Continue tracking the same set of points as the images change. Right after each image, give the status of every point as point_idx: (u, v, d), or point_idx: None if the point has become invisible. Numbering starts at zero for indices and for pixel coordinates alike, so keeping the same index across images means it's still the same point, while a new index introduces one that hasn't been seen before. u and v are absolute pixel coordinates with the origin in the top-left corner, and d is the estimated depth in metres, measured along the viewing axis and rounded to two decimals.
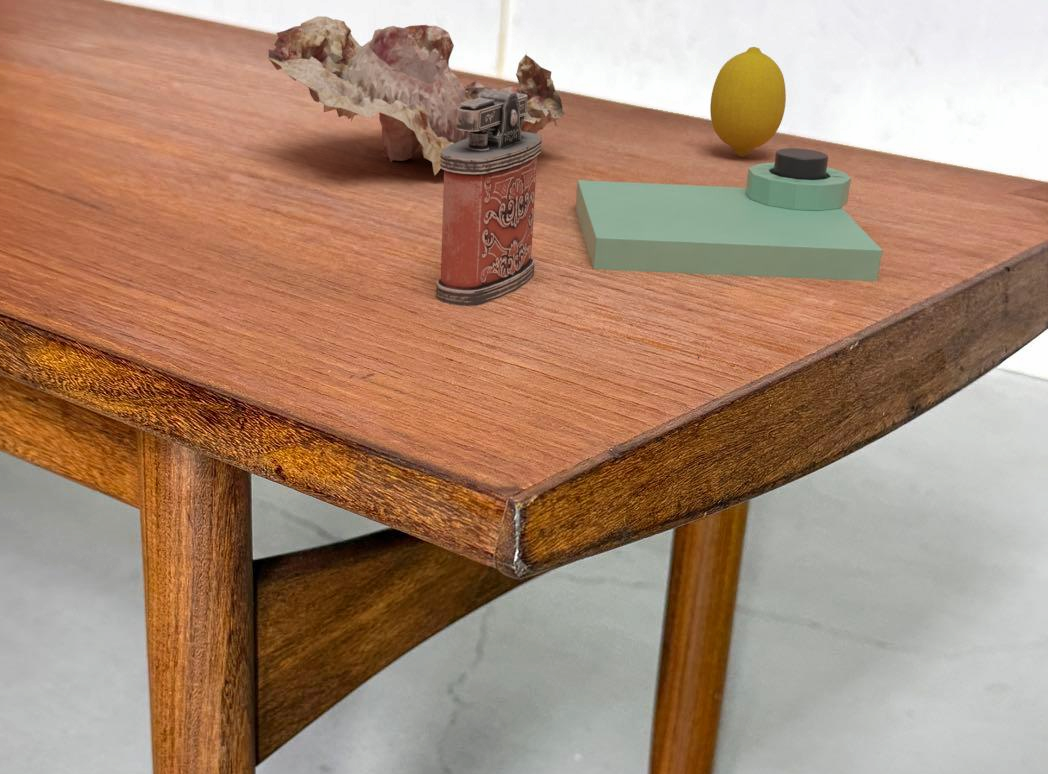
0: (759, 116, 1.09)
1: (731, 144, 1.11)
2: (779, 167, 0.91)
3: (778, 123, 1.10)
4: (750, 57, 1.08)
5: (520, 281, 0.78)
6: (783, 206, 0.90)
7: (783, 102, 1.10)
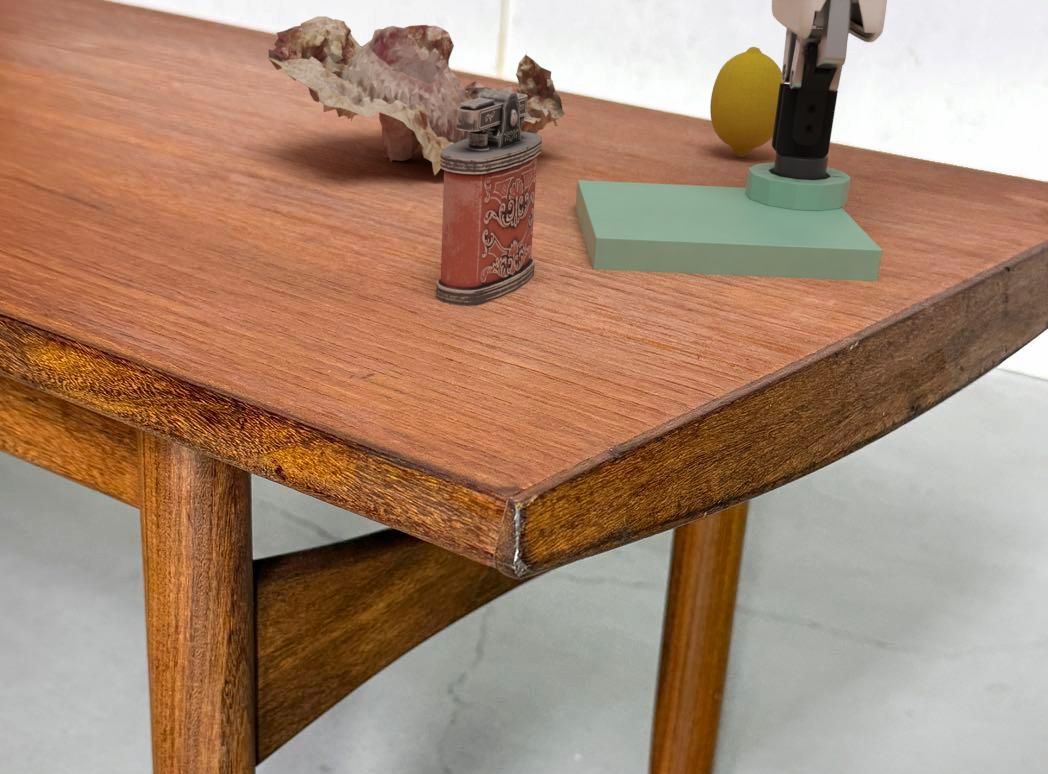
0: (759, 116, 1.09)
1: (731, 144, 1.11)
2: (779, 167, 0.91)
3: None
4: (750, 57, 1.08)
5: (520, 281, 0.78)
6: (783, 206, 0.90)
7: None
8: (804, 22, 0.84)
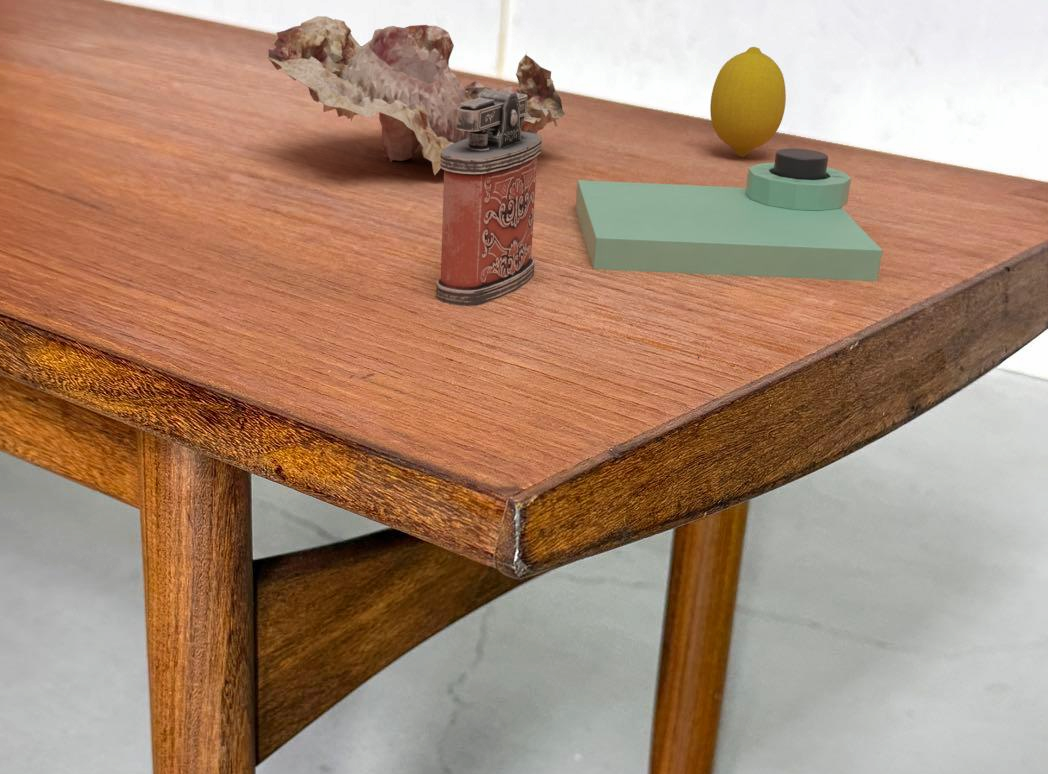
0: (759, 116, 1.09)
1: (731, 144, 1.11)
2: (779, 167, 0.91)
3: (778, 123, 1.10)
4: (750, 57, 1.08)
5: (520, 281, 0.78)
6: (783, 206, 0.90)
7: (783, 102, 1.10)
8: None
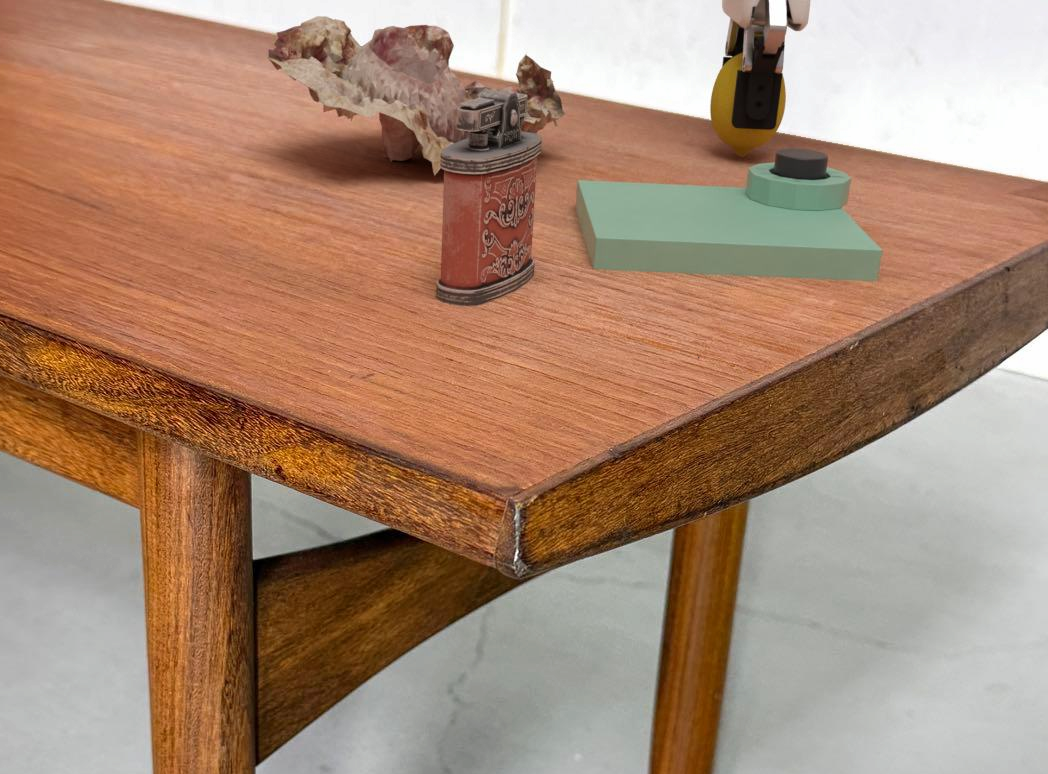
0: None
1: (731, 144, 1.11)
2: (779, 167, 0.91)
3: (778, 123, 1.10)
4: None
5: (520, 281, 0.78)
6: (783, 206, 0.90)
7: (783, 102, 1.10)
8: (744, 15, 1.04)
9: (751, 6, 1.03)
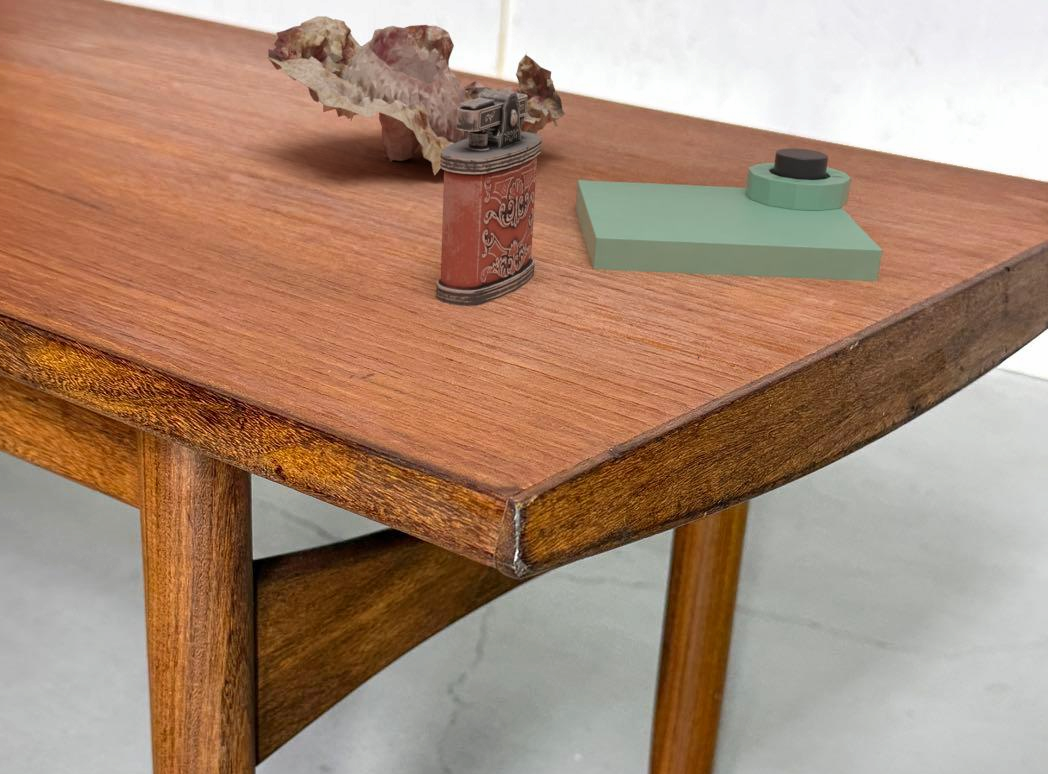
0: None
1: None
2: (779, 167, 0.91)
3: None
4: None
5: (520, 281, 0.78)
6: (783, 206, 0.90)
7: None
8: None
9: None
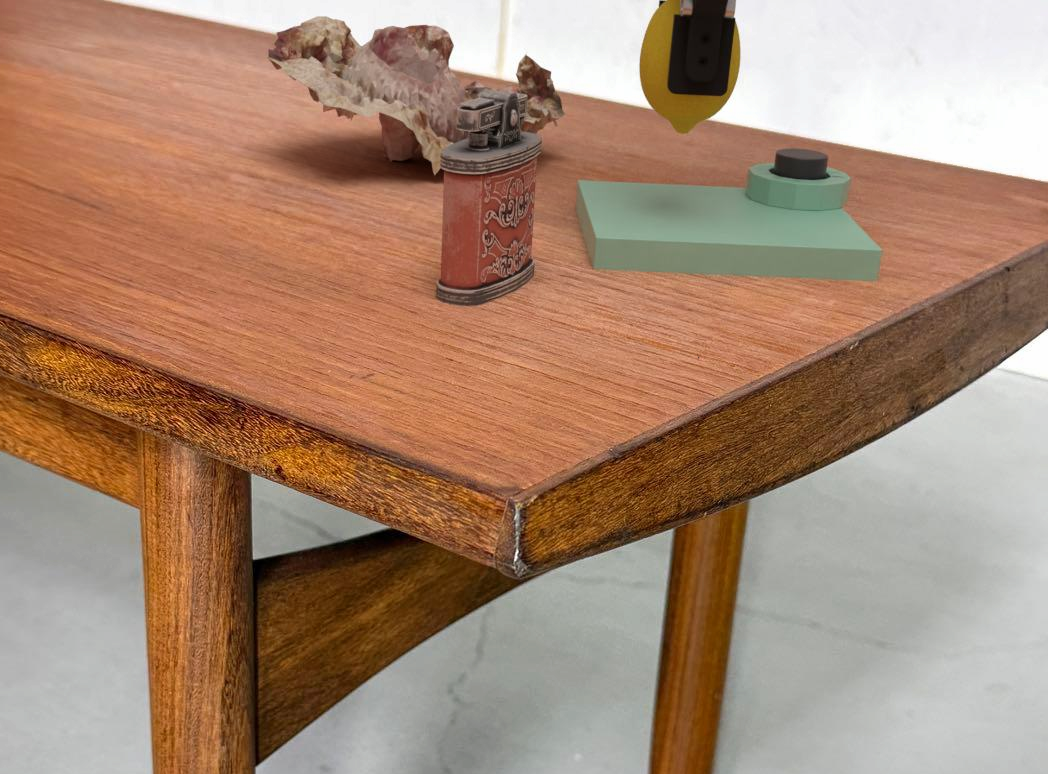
0: None
1: (667, 116, 0.83)
2: (779, 167, 0.91)
3: (730, 88, 0.82)
4: None
5: (520, 281, 0.78)
6: (783, 206, 0.90)
7: (737, 59, 0.81)
8: None
9: None
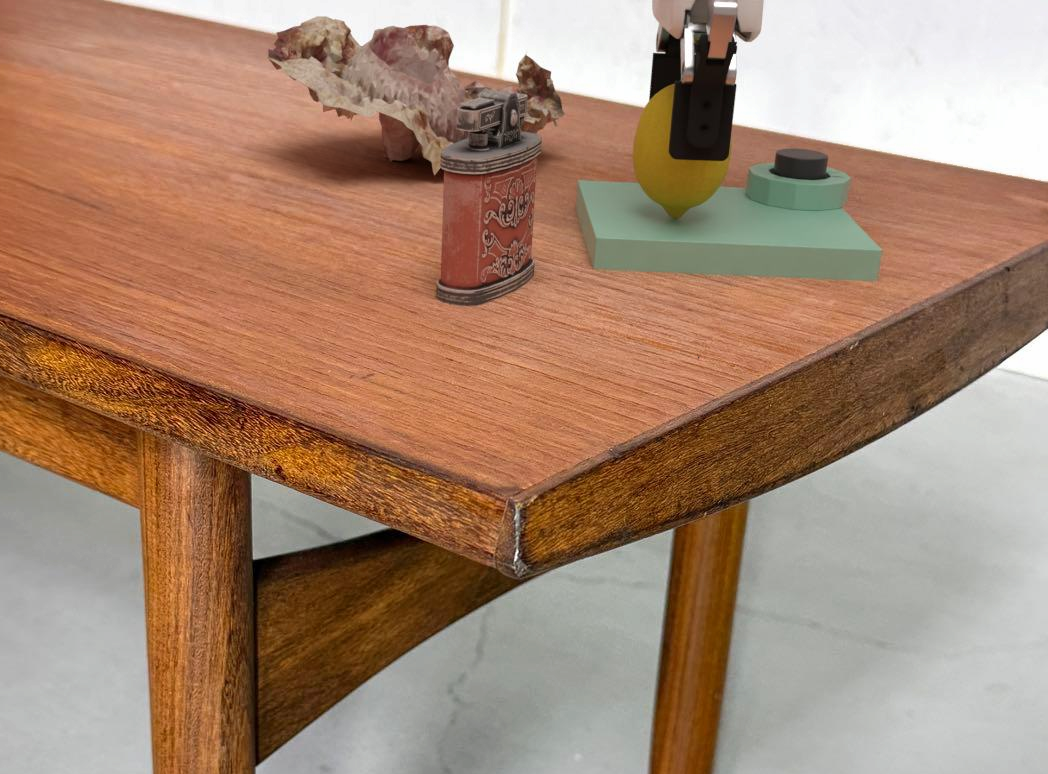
0: (696, 167, 0.82)
1: (660, 203, 0.85)
2: (779, 167, 0.91)
3: (721, 176, 0.84)
4: None
5: (520, 281, 0.78)
6: (783, 206, 0.90)
7: None
8: (675, 21, 0.77)
9: None
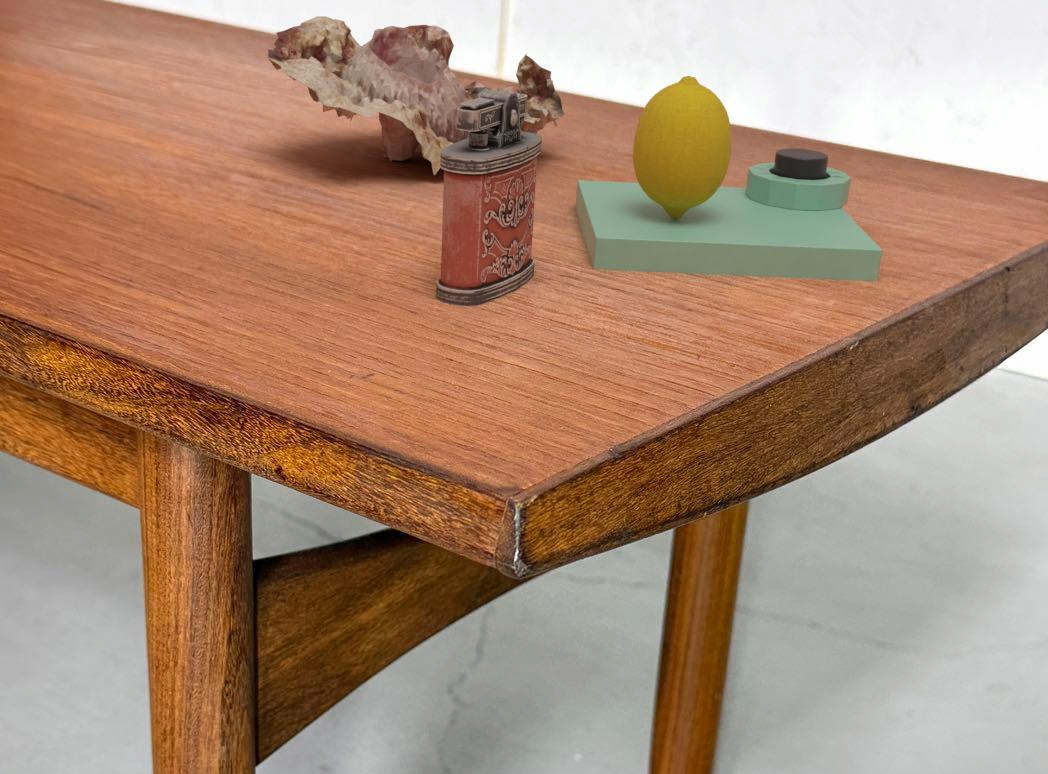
0: (696, 167, 0.82)
1: (660, 203, 0.85)
2: (779, 167, 0.91)
3: (721, 176, 0.84)
4: (683, 90, 0.82)
5: (520, 281, 0.78)
6: (783, 206, 0.90)
7: (728, 149, 0.83)
8: None
9: None
